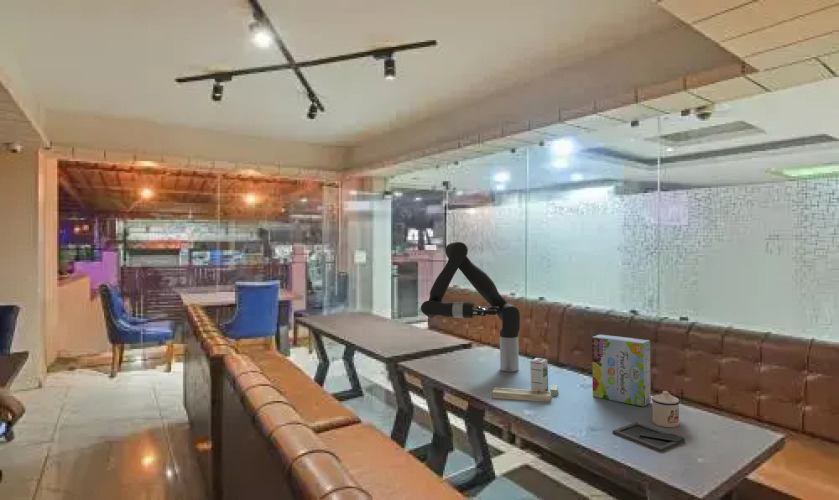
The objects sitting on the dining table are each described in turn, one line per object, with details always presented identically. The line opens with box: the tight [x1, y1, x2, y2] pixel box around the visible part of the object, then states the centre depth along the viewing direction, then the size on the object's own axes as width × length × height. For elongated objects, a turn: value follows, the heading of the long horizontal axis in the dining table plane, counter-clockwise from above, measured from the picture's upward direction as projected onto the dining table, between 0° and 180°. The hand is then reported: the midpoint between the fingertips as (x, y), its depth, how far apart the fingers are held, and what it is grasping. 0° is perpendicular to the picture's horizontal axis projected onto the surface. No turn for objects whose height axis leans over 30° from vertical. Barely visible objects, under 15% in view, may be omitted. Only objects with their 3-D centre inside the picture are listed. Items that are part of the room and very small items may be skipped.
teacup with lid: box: [651, 390, 681, 428], centre depth 184 cm, size 12×9×12 cm
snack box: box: [591, 334, 652, 407], centre depth 209 cm, size 22×9×26 cm, turn 47°
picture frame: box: [612, 421, 686, 453], centre depth 171 cm, size 13×2×18 cm
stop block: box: [549, 384, 559, 397], centre depth 219 cm, size 7×3×2 cm, turn 163°
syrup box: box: [529, 357, 549, 391], centre depth 220 cm, size 6×6×14 cm
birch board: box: [492, 387, 552, 403], centre depth 214 cm, size 6×24×3 cm, turn 73°
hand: (497, 310), depth 233 cm, fingers open, 8 cm apart
